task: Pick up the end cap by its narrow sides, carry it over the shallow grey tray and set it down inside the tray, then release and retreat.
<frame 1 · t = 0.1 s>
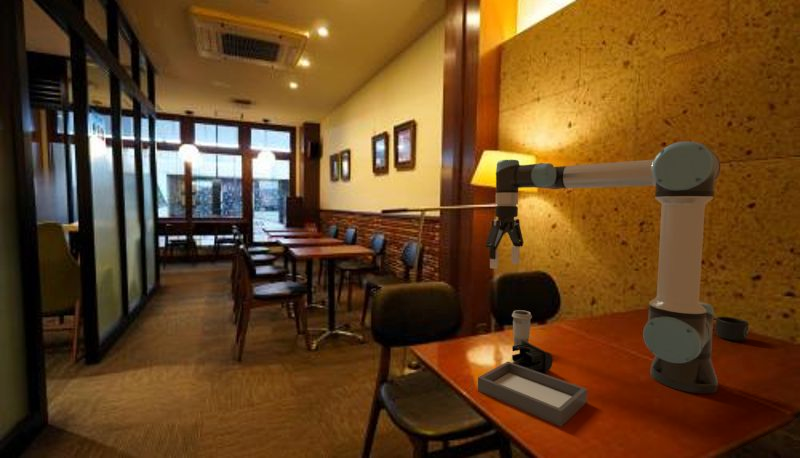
hand: (504, 266, 130), 28 cm above the table, fingers open, 13 cm apart
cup: (520, 346, 130), on the table
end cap: (531, 369, 112), on the table
shallow grey tray: (530, 396, 96), on the table
mug: (725, 338, 140), on the table
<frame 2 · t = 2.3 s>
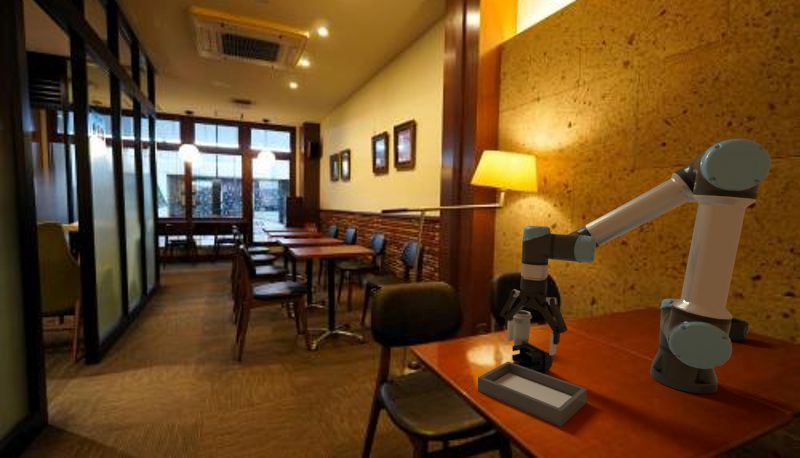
hand: (530, 347, 112), 6 cm above the table, fingers open, 13 cm apart
nothing on the table moved.
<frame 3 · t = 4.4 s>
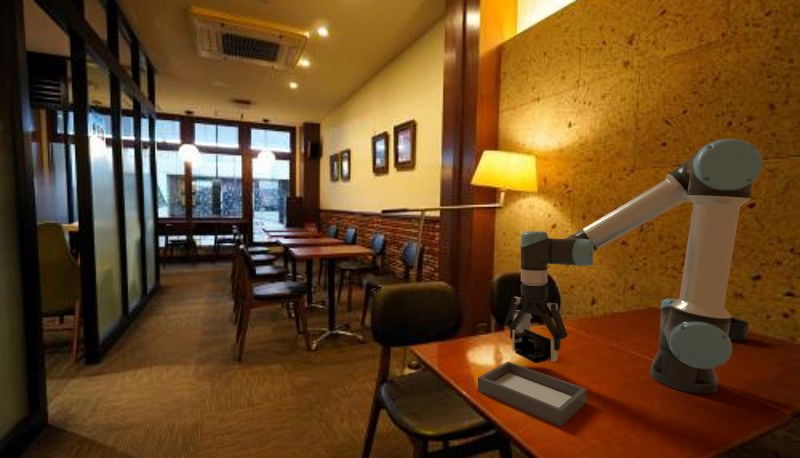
hand: (534, 354, 112), 4 cm above the table, fingers closed on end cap, 11 cm apart
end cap: (533, 356, 112), point 4 cm above the table, touching gripper
everything else where it was.
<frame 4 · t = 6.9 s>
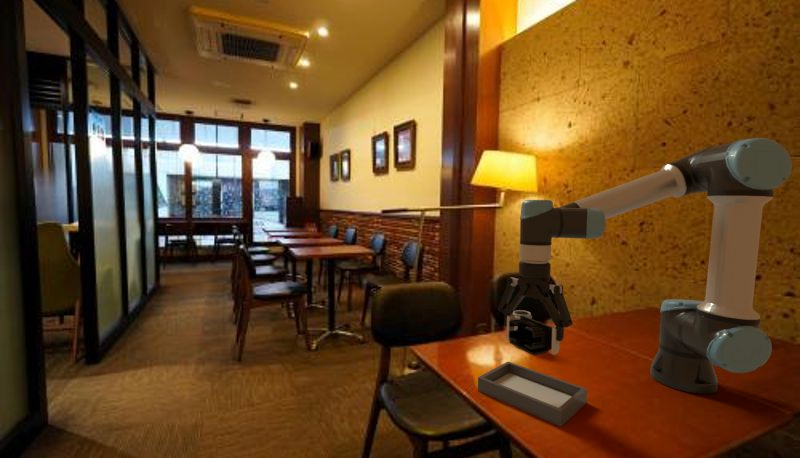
hand: (531, 345, 95), 13 cm above the table, fingers closed on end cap, 11 cm apart
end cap: (531, 347, 95), point 13 cm above the table, touching gripper
everything else where it was.
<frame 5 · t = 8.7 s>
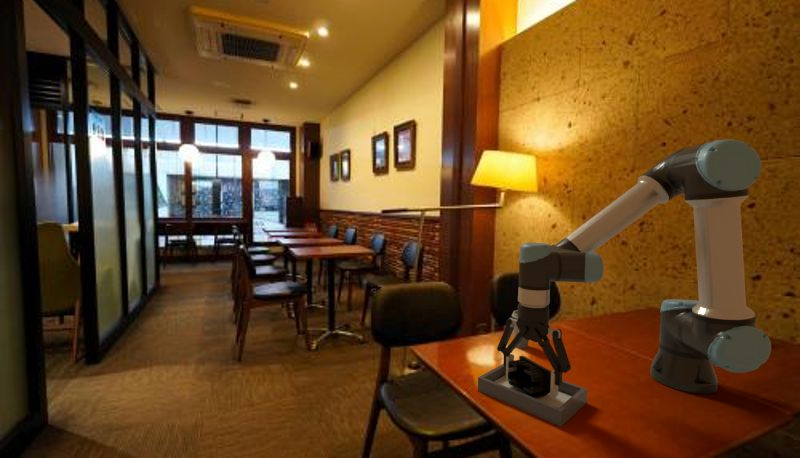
hand: (530, 387, 95), 2 cm above the table, fingers closed on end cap, 11 cm apart
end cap: (530, 389, 96), point 2 cm above the table, touching gripper
everything else where it was.
when the fingers open (2 cm above the table, at t = 9.8 s): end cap stays where it is, resting on shallow grey tray.
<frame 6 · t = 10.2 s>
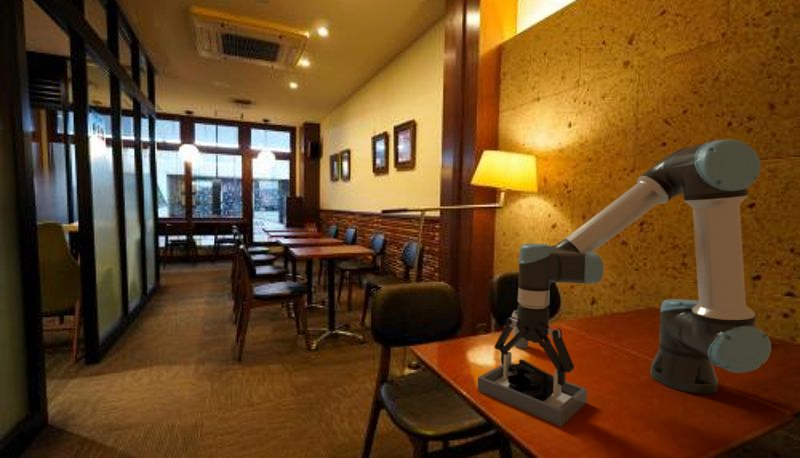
hand: (530, 386, 95), 3 cm above the table, fingers open, 13 cm apart
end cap: (530, 393, 96), point 1 cm above the table, touching shallow grey tray
everything else where it was.
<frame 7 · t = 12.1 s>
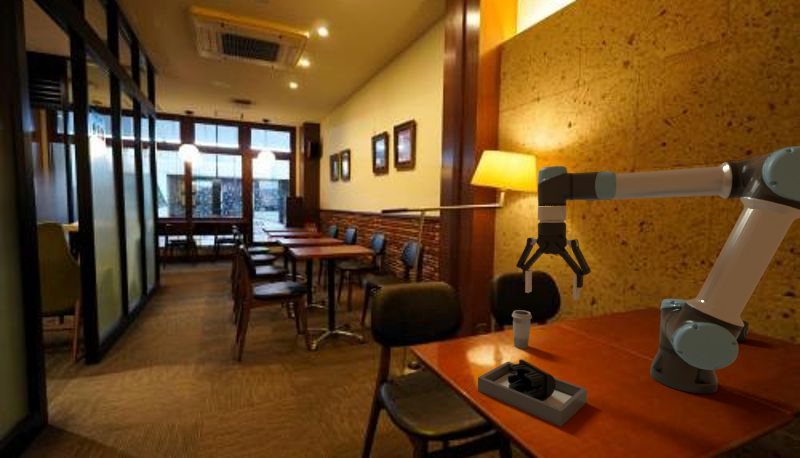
hand: (551, 295, 107), 23 cm above the table, fingers open, 13 cm apart
nothing on the table moved.
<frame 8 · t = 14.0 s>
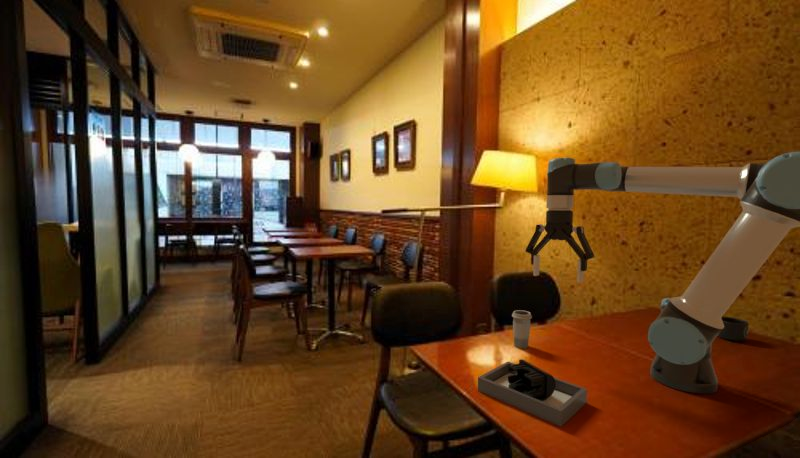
hand: (557, 278, 115), 27 cm above the table, fingers open, 13 cm apart
nothing on the table moved.
at the end: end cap inside the target area on the shallow grey tray (0.1 cm from its centre), point 0.8 cm above the shallow grey tray's base; the gripper is holding nothing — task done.
